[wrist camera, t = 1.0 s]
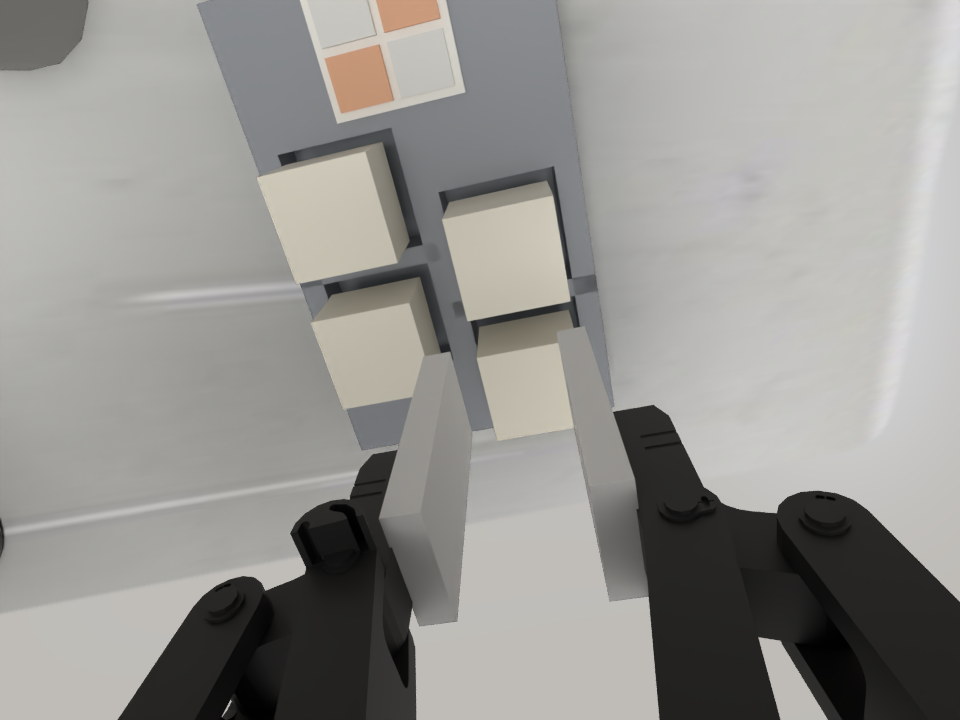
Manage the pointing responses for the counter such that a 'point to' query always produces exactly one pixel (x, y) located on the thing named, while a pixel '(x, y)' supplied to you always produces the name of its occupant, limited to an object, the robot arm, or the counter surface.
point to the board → (418, 139)
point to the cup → (39, 32)
